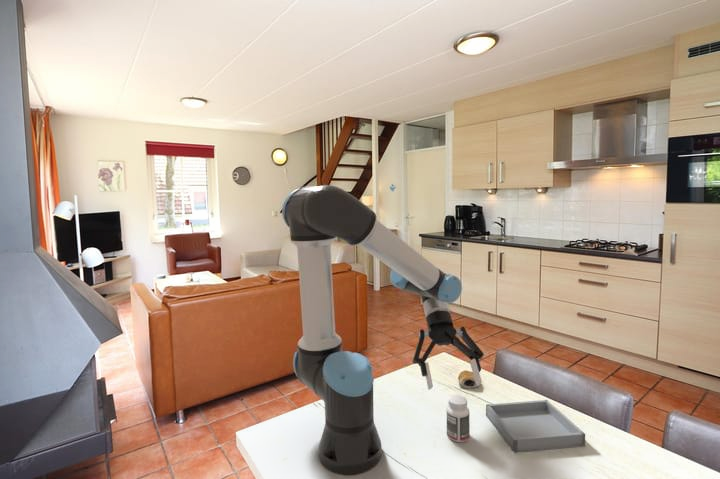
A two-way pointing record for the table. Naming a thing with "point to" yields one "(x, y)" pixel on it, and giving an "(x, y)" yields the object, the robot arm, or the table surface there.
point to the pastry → (467, 380)
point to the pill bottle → (458, 419)
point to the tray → (534, 426)
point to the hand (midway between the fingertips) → (455, 386)
